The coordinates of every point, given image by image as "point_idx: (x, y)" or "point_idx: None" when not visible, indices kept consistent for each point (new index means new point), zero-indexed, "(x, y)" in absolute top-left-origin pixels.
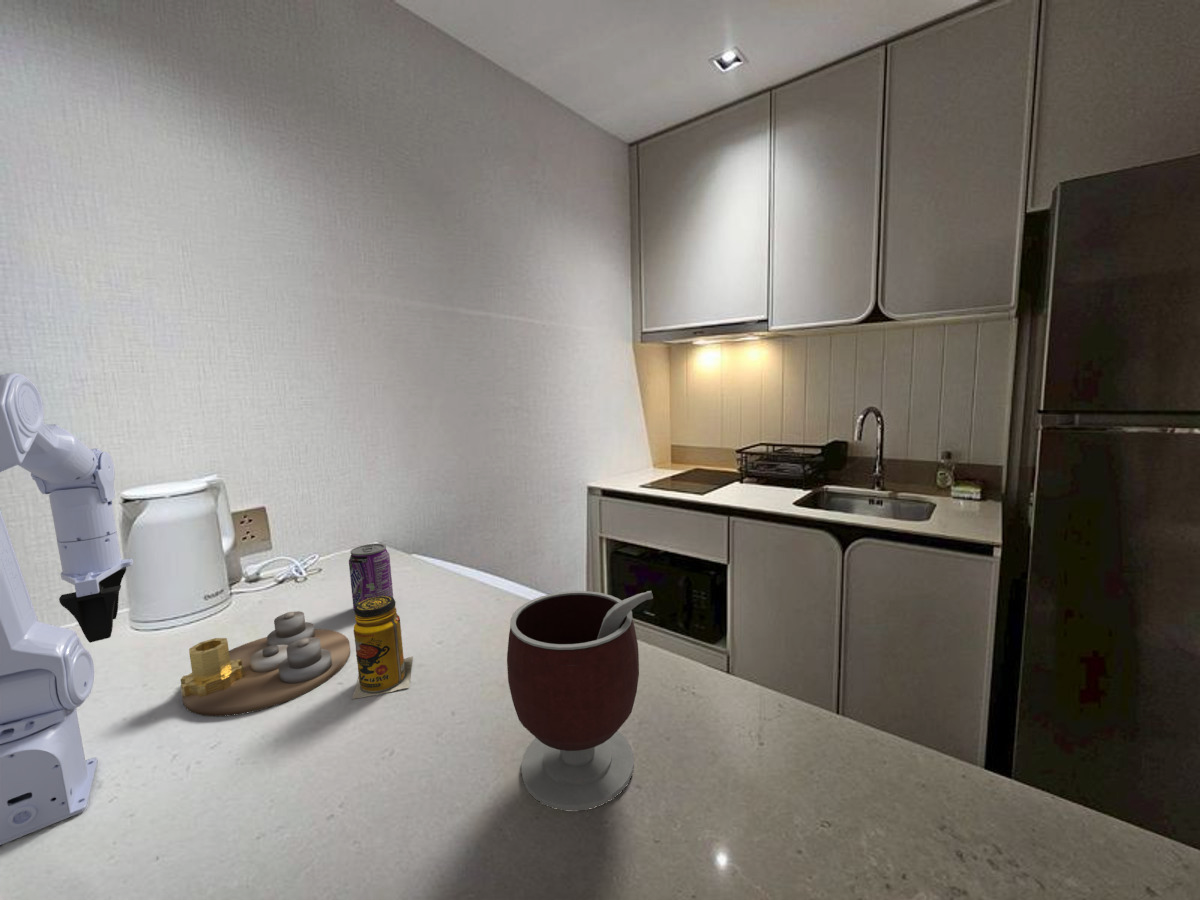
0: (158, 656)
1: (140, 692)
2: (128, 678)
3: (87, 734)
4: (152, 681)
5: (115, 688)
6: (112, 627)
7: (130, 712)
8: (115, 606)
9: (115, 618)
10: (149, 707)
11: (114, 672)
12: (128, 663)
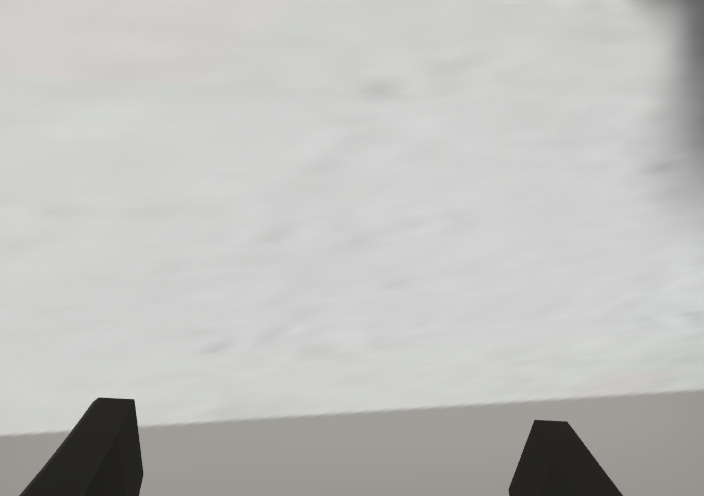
0: (13, 10)
1: (450, 110)
2: (226, 144)
3: (648, 260)
4: (365, 60)
5: (301, 188)
6: (564, 462)
7: (622, 150)
8: (94, 484)
9: (134, 403)
10: (657, 89)
11: (94, 188)
12: (14, 138)
